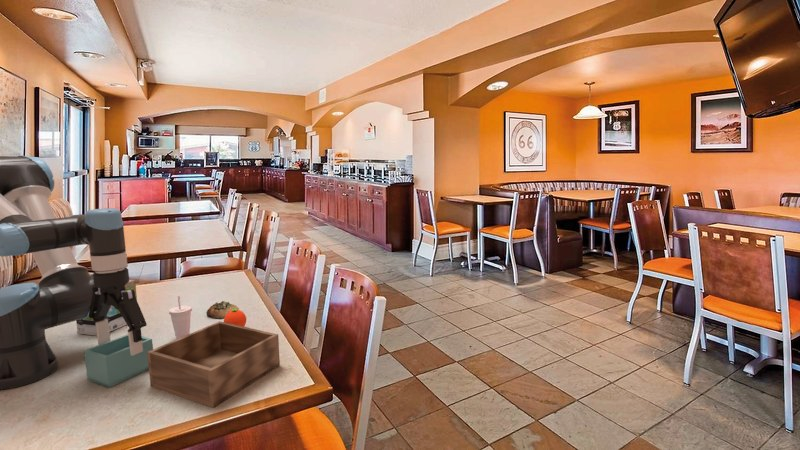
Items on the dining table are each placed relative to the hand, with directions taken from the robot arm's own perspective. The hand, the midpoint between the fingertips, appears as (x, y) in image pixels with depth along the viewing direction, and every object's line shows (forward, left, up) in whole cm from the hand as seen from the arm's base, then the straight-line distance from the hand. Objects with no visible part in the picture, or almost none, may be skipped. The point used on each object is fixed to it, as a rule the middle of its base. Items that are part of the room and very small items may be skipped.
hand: (120, 348), depth 112 cm
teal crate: (0, 0, -7) cm, 7 cm away
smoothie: (+22, +5, -7) cm, 24 cm away
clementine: (+34, -5, -7) cm, 35 cm away
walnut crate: (+10, -24, -7) cm, 26 cm away
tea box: (+18, +36, -7) cm, 41 cm away
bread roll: (+43, +11, -7) cm, 45 cm away
